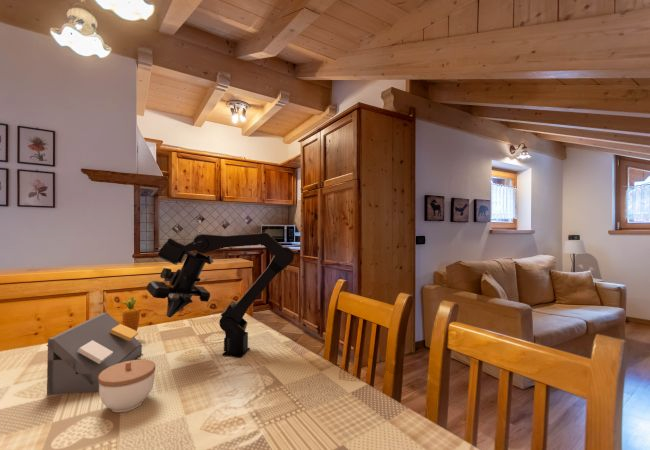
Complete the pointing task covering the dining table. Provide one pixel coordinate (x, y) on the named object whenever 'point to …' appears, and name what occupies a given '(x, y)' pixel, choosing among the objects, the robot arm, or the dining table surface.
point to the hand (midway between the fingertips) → (168, 316)
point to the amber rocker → (124, 332)
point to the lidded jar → (126, 384)
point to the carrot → (131, 315)
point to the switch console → (78, 370)
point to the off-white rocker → (95, 351)
